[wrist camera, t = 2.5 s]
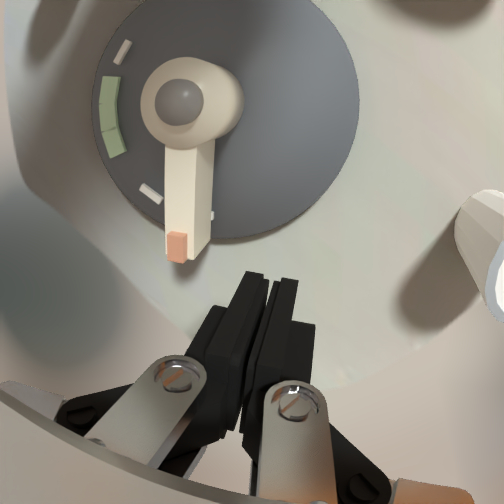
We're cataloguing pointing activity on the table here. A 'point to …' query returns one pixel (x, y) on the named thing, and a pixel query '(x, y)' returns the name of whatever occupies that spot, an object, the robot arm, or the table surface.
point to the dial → (254, 113)
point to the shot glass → (484, 245)
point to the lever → (189, 143)
